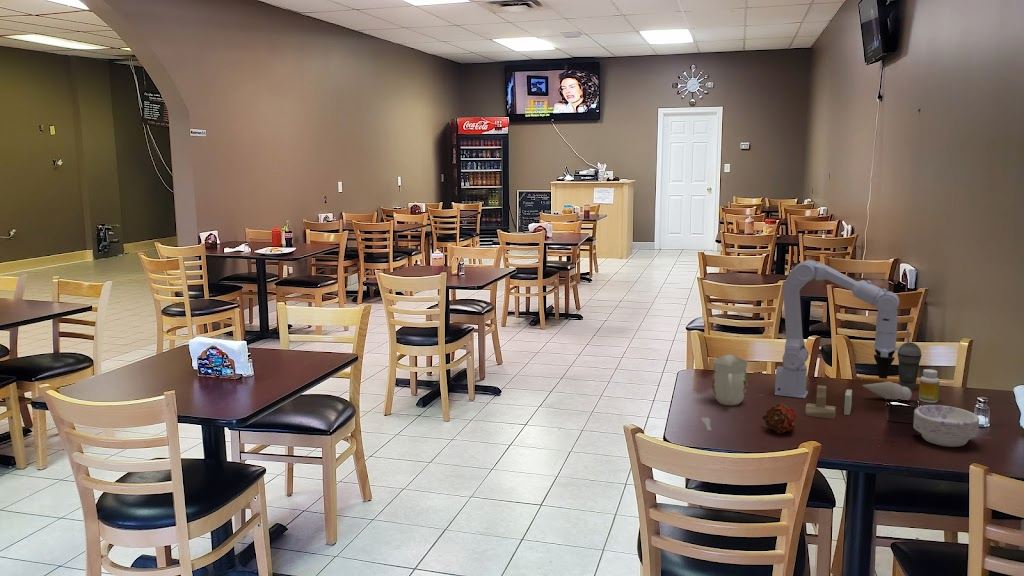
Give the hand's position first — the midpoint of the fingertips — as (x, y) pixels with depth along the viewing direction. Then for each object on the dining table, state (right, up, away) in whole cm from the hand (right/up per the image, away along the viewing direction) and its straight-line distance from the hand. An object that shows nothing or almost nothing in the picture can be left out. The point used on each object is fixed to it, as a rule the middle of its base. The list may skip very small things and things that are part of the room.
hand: (883, 375), depth 236 cm
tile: (-12, -11, -3) cm, 17 cm away
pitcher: (-46, -10, +6) cm, 47 cm away
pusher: (-22, -11, -7) cm, 26 cm away
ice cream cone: (+5, -9, +8) cm, 13 cm away
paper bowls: (+2, -15, -29) cm, 33 cm away
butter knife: (-58, -14, -20) cm, 63 cm away
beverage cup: (+18, -7, +21) cm, 29 cm away
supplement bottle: (+18, -9, +7) cm, 21 cm away
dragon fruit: (-39, -14, -20) cm, 46 cm away
